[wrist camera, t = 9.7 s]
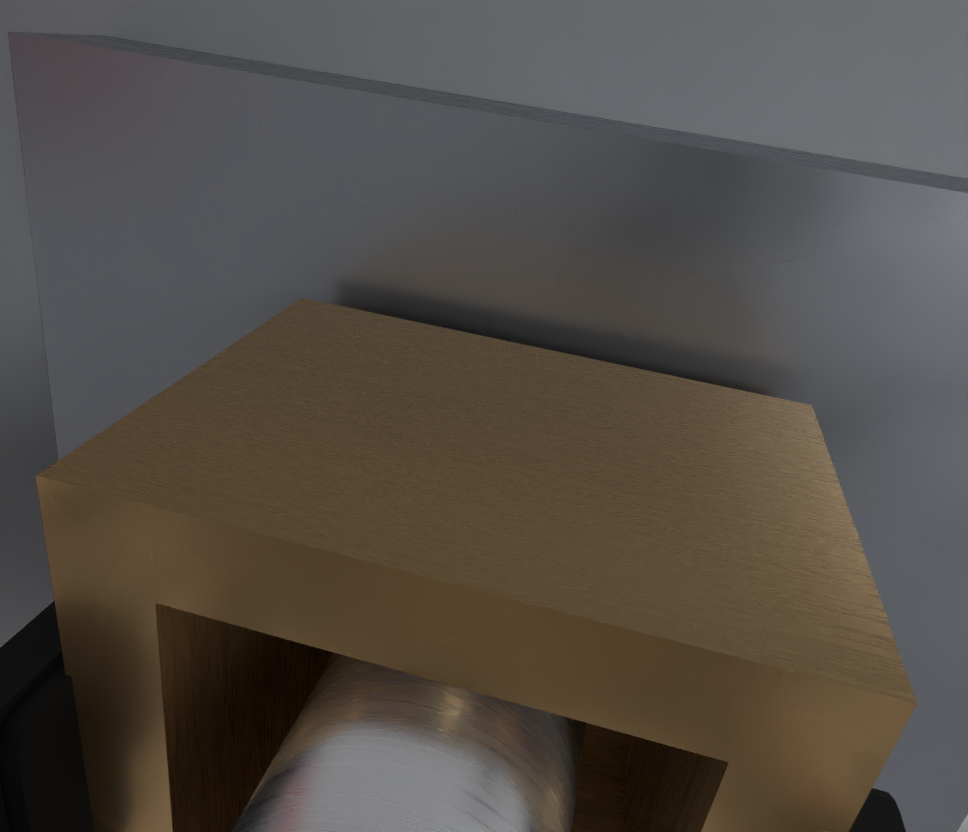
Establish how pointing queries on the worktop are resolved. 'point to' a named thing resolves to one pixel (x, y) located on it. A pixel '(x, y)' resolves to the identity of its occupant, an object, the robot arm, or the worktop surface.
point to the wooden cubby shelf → (471, 574)
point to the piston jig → (516, 318)
